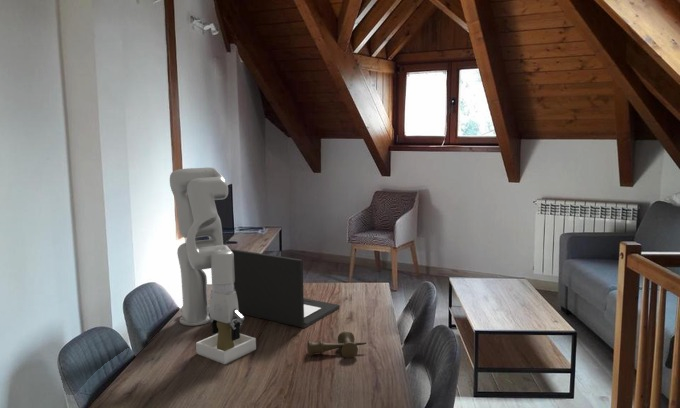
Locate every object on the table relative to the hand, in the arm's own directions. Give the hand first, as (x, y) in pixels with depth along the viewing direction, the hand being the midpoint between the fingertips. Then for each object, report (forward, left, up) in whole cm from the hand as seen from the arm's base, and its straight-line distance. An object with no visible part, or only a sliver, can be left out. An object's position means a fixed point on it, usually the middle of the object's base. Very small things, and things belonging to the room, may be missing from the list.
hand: (225, 335), depth 179 cm
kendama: (+31, +21, -6) cm, 38 cm away
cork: (-1, 0, -5) cm, 5 cm away
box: (0, 0, -6) cm, 6 cm away
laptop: (-11, +42, -6) cm, 43 cm away
